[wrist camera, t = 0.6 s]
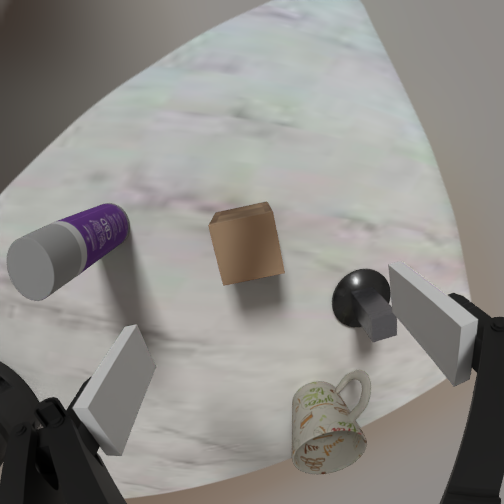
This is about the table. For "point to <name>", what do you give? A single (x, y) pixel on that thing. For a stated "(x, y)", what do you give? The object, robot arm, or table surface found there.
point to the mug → (327, 426)
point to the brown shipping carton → (246, 243)
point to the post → (365, 303)
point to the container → (64, 249)
